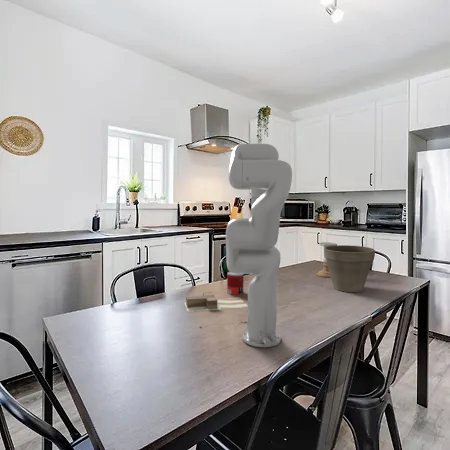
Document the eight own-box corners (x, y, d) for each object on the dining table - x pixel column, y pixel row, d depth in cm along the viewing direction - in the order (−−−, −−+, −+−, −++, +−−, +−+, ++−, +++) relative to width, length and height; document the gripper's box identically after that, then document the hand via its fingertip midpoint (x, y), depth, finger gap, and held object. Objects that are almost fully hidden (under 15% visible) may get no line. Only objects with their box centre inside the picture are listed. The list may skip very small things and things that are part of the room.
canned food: (242, 297, 151) (242, 275, 150) (225, 296, 152) (225, 274, 151) (244, 293, 158) (244, 271, 157) (228, 292, 160) (228, 270, 159)
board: (249, 310, 134) (249, 307, 134) (187, 314, 128) (187, 312, 127) (239, 299, 147) (239, 297, 147) (183, 303, 141) (183, 301, 141)
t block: (217, 308, 132) (217, 300, 131) (188, 310, 129) (188, 302, 129) (211, 299, 143) (211, 292, 143) (185, 301, 140) (185, 293, 140)
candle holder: (312, 274, 201) (313, 242, 200) (329, 272, 205) (330, 241, 203) (324, 278, 190) (325, 245, 188) (341, 277, 193) (343, 244, 192)
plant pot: (324, 293, 159) (325, 250, 157) (321, 281, 183) (322, 244, 181) (378, 297, 153) (380, 252, 151) (368, 284, 177) (369, 245, 175)
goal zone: (221, 312, 131) (221, 309, 131) (187, 314, 128) (187, 312, 127) (214, 301, 144) (214, 299, 144) (183, 303, 141) (183, 301, 141)
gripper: (275, 201, 126) (274, 247, 128) (261, 202, 141) (260, 243, 142) (258, 201, 124) (257, 248, 125) (245, 202, 139) (244, 243, 140)
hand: (259, 245), depth 134 cm, fingers closed
